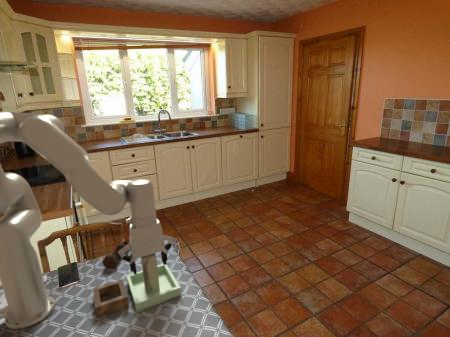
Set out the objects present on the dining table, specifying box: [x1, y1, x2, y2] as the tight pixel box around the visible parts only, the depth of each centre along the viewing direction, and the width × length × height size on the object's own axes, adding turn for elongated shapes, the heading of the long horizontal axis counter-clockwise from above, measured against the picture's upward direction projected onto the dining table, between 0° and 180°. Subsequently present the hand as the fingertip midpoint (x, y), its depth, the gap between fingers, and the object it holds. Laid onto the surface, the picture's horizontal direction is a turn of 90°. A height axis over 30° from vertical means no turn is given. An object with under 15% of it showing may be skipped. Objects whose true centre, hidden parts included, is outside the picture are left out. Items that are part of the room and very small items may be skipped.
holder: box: [93, 278, 130, 319], centre depth 87 cm, size 9×10×4 cm
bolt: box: [102, 240, 130, 270], centre depth 112 cm, size 6×5×15 cm
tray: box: [125, 263, 182, 313], centre depth 92 cm, size 14×16×3 cm
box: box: [140, 253, 160, 294], centre depth 91 cm, size 5×4×13 cm
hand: (149, 267), depth 90 cm, fingers open, 9 cm apart
